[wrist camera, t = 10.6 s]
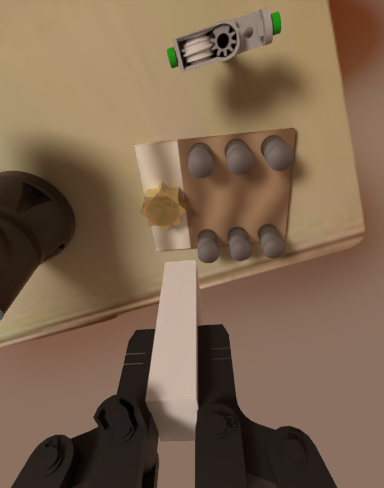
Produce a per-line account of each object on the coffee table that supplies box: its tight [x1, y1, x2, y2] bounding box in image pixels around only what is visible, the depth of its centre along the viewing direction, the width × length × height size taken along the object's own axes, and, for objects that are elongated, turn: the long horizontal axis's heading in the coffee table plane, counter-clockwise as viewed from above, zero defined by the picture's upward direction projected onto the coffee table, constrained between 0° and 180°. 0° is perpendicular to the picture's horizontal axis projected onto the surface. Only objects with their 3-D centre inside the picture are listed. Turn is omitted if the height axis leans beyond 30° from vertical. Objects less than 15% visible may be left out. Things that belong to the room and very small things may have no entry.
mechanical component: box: [167, 7, 281, 73], centre depth 29 cm, size 3×10×10 cm, turn 105°
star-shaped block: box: [140, 182, 187, 231], centre depth 43 cm, size 7×7×3 cm
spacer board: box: [135, 128, 296, 263], centre depth 42 cm, size 22×18×6 cm
